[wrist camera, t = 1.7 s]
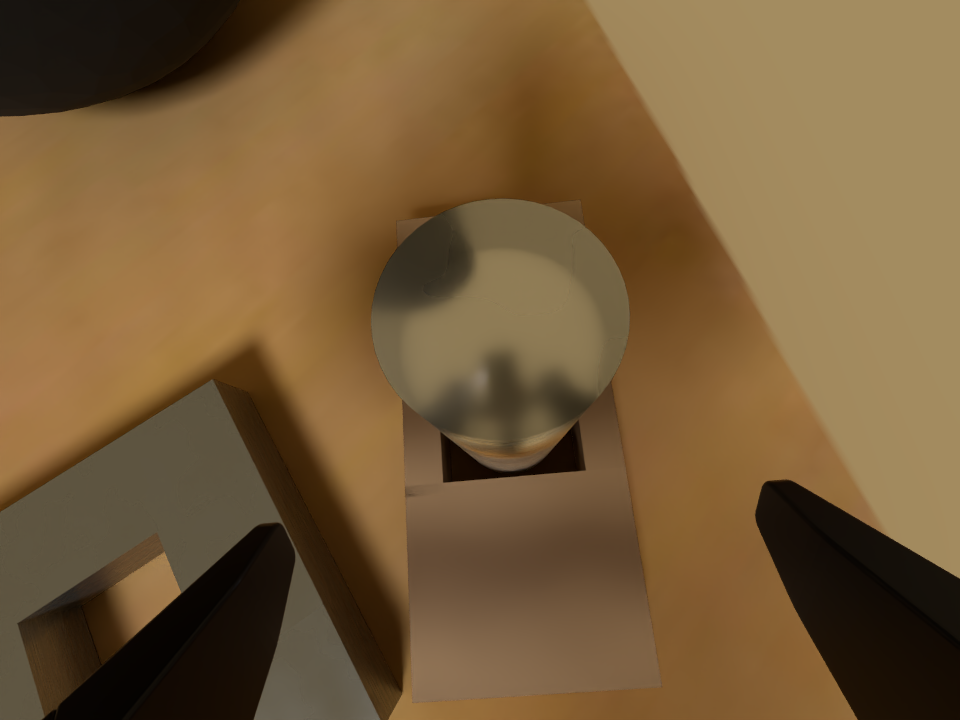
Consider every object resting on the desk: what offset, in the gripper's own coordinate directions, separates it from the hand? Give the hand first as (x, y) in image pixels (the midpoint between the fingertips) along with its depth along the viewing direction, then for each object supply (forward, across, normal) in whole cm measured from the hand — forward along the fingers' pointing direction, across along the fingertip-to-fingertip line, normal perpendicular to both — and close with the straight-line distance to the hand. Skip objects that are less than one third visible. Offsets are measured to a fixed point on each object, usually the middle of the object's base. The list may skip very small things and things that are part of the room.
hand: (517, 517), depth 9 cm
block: (+5, +14, +10) cm, 18 cm away
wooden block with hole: (+10, 0, +5) cm, 11 cm away
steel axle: (+10, 0, +5) cm, 11 cm away
